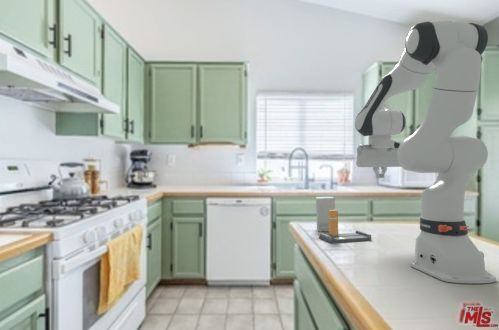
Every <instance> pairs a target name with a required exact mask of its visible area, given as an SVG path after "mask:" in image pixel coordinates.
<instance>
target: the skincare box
mask: <svg viewBox="0 0 499 330" xmlns="http://www.w3.org/2000/svg"><path fill="white" fill-rule="evenodd" d="M335 200H336V199H335V196H316V197H315V206H316V207H315V210H316V213H315V214H316V216H315V217H316V218H315V219H316V230H317V232H319V233H323V232H329V221H328V210H336V208H335V207H336V206H335V205H336V203H335V202H336V201H335Z"/></svg>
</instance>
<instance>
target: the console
mask: <svg viewBox="0 0 499 330" xmlns="http://www.w3.org/2000/svg"><path fill="white" fill-rule="evenodd" d="M338 235H339V237H331V236H328V235H327V234H326V233H324V232H319V239H320V240H323V241H325V242H327V243H329V244H337V243H338V244H339V243H352V242H354V243H355V242H364V241H365V242H366V241H367V242H368V241H372V234H369V233H367V232H364V231H361V230H355V232H349V233H348V232H347V233H338Z"/></svg>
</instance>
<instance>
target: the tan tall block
mask: <svg viewBox="0 0 499 330" xmlns="http://www.w3.org/2000/svg"><path fill="white" fill-rule="evenodd" d="M328 221H329V231H328V233H327V234H326V235H328V236H331V237H339V235H338V234H339V210H338V209H335V210H328Z"/></svg>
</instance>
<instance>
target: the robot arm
mask: <svg viewBox="0 0 499 330" xmlns="http://www.w3.org/2000/svg"><path fill="white" fill-rule="evenodd" d="M488 39H489V34H488V31H487V29H486V27H484V25H481V24H478V23H473V22H469V23H468V22H467V23H466V22H460V21H459V22H458V21H457V22H456V21H452V20H451V21H450V20H443V21H441V20H440V21H424V22H423V21H422V22H419V23H416V24H414V25H413V26H412V27H411V28H410V30H409V31H408V33H407V35H406V39H405V44H404V45H405V46H404V47H405V48H404V51H403V53H402V55H401V57H400V59H399V61H398V63H397V64H396V65H395V67H394V68H393V69H392V70H391V71H390V72H389V73H388V74H386V75H384V76H383V77H382V78H381V79H380V80H379V82H378V83H377V85H376V87H375V88H374V91H373V92H372V94H371V95H370V97H369V99H368V100H367V102H366V103H365V105H364V106H363V108H362V109H361V110H360V111H359V113H358V114H357V115H356V117H355V121H354V125H355V130H356V131H357V132H358V134H360V135H361V136H363V137H368V138H367V139H368V142H367V143H368V144H360V145H358V147H357V148H356V153H357V154H356V161H355V163H356V167H358V168H372V169H373V172H374V174H375V178H376V179H385V174H386V173H387V170H388V168H399V167H400V168H402V169H404V170H405V171H408V172H414V173H420V174H434V173H437V177H436V179H435V181H434V182H433V184H431V185H429V186H427V187H426V188H425V189H424V190H423V191H422V193H421V195H420V199H421V201H420V202H421V207H420V208H421V211H420V212H421V216H420V219H419V230H420V233H419V235H418V236H417V237H416V238H415V248H414V261H411V262H410V267H411V268H413V269H416V270H417V271H420V272H423V273H425V274H426V275H430V276H431V277H433V278H436V279H438V280H441V281H443V282H447V283H454V284H472V285H474V284H491V283H495V282H497V277H496V276H495V275H494V274H491V273H490V272H489V271H487V270H486V265H485V264H486V262H485V253H484V252H483V251H482V250H481V251H480V250H479V249H478V248H477V246H476V245H475V243H474V242H473V241H472V239H471V238H470V237H469V235H468V234H469V230H470V229H469V225H467V223H466V220H465V218H464V215H465V214H464V213H465V212H464V211H465V210H464V208H465V207H464V206H465V205H464V204H465V196H466V191H467V190H466V189H467V188H468V185H469V182H470V181H471V179H472V178H473V176H474V175H475V174H476V173H477V171H479V170H480V169H482V168H483V167H484V166H485V164H486V163H487V160H488V156H489V152H488V148H487V146H486V144H485V142H484V141H483V140H481V139H479V138H476V137H471V136H464V135H452V134H453V132H454V131H455V130H456V129H457V128H459V127H460V126H462V125H464V124H466V123H468V121H470V120H471V118H472V116H473V113H474V109H475V104H476V100H477V95H478V91H479V88H480V87H479V86H480V79H481V73H482V58H481V57H482V56H481V55H482V54H483V53H484V51H485V50H486V48H487V45H488V41H489V40H488ZM434 70H436V71H435V78H434V81H433V87H432V91H431V97H430V101H429V105H428V109H427V112H426V115H425V116H424V119H423V121H422V122H421V123H420V125H419V127H418V128H417V129H416V130H414V132H413V133H412V134H411V135H409V136H408V137H407V138H405V139H403V140H402V141H401V142H398V141H395V140H393V139H392V136H395V135H399V134H401V133H402V132H403V131H404V130H405V128H406V123H407V122H406V119H407V118H406V116H405V114H404V113H403V112H402V111H400V110H397V109H394V108H393V109H392V108H391V107H390V105H388V104H385V102H387V100H388V99H390V98H392V97H394V96H397V95H399V94H403V93H407V92H410V91H415V90H417V89H419V88H422V87H423V86H424V85H425V84H426V83H427V82H428V81H429V79H430V77H432V74H433V72H434ZM380 170H381V171H380Z"/></svg>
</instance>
